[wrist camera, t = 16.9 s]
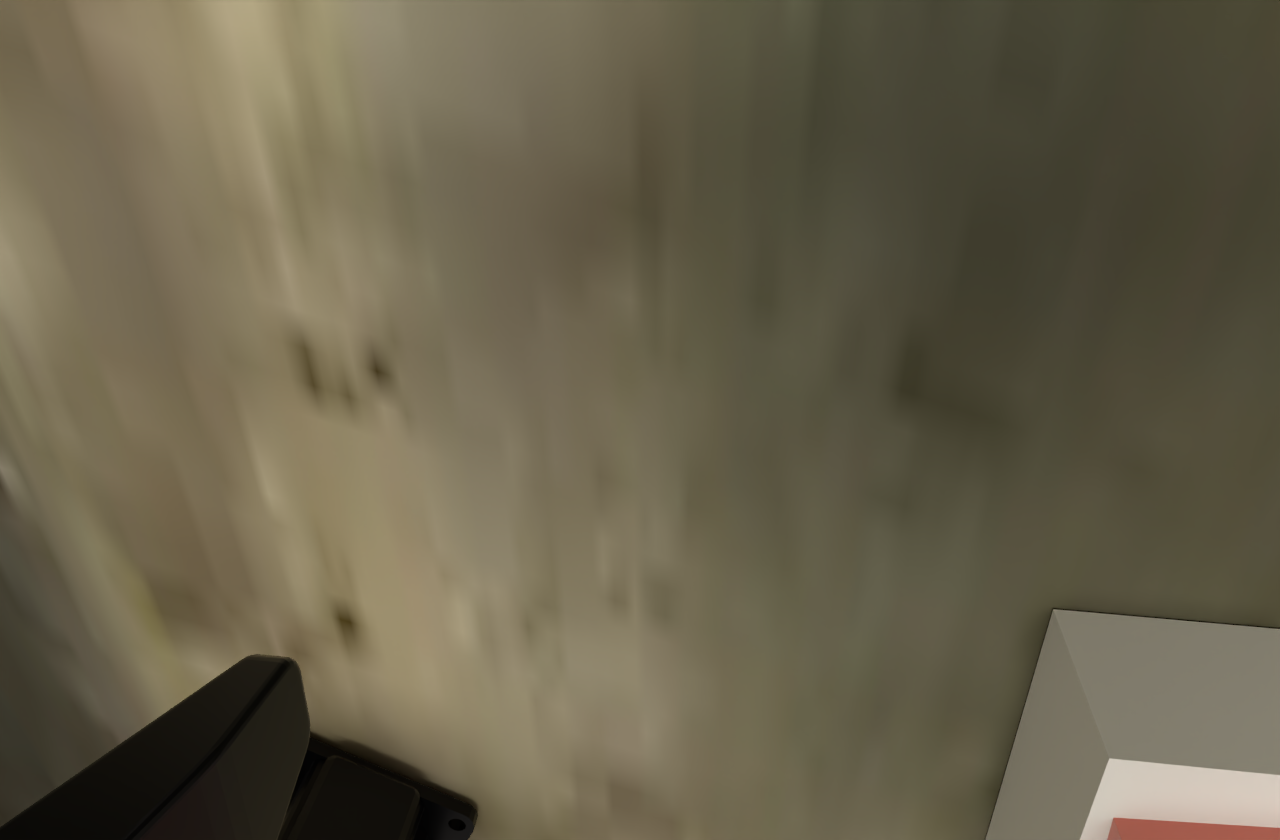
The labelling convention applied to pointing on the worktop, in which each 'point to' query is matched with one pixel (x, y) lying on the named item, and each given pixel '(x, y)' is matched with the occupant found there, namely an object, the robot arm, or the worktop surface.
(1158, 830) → the salmon red block
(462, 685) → the worktop surface
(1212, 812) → the box
